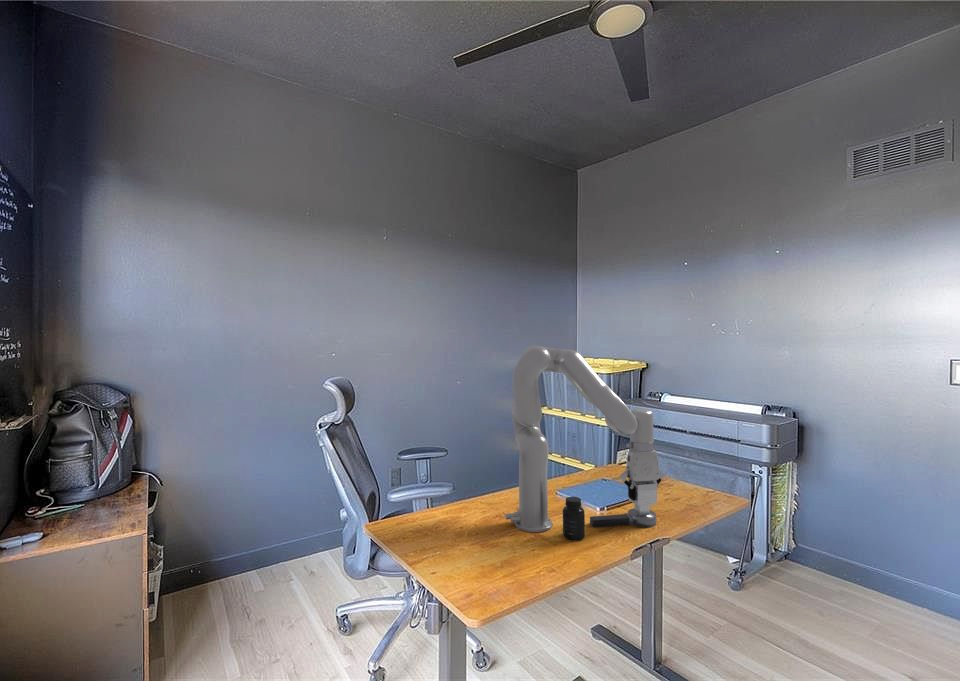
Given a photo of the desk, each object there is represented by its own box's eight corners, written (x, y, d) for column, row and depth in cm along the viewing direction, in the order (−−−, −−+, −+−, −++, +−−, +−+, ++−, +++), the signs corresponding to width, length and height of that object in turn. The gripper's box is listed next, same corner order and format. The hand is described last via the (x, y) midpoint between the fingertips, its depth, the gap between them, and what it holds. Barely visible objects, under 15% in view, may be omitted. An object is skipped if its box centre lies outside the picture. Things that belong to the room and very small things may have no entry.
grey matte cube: (638, 506, 152) (637, 485, 152) (628, 499, 158) (627, 478, 158) (657, 504, 153) (656, 483, 153) (646, 497, 159) (646, 477, 159)
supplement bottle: (567, 530, 149) (567, 493, 149) (587, 535, 145) (587, 497, 145) (559, 538, 143) (559, 500, 143) (580, 543, 140) (580, 504, 139)
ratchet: (597, 531, 148) (597, 508, 148) (586, 520, 157) (586, 498, 157) (661, 526, 152) (661, 503, 152) (647, 515, 161) (647, 494, 161)
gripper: (623, 450, 150) (623, 504, 150) (671, 447, 153) (672, 500, 153) (612, 445, 158) (613, 496, 158) (659, 442, 160) (660, 493, 161)
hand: (642, 498), depth 155 cm, fingers closed on grey matte cube, 6 cm apart
